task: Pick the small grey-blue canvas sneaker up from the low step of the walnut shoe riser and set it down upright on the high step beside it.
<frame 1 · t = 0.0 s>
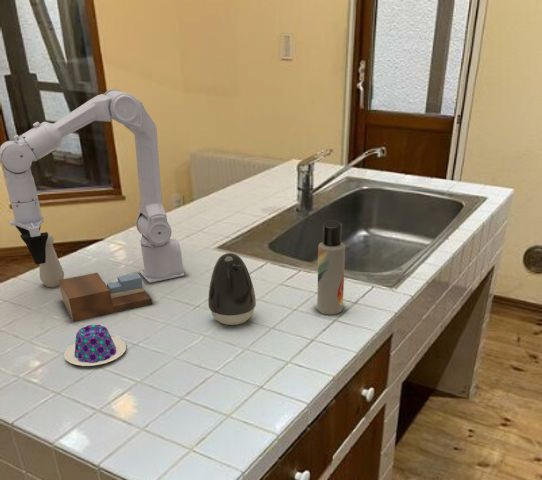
hand: (37, 258, 140), 10 cm above the table, tool pointing down, fingers open, 7 cm apart
dark egg shaped container: (233, 320, 133), on the table
sneaker: (125, 292, 143), point 2 cm above the table, touching shoe riser
patterned hat: (96, 354, 121), on the table
salt shaker: (54, 285, 152), on the table
shoe riser: (107, 302, 142), on the table
lotion bottle: (329, 310, 136), on the table
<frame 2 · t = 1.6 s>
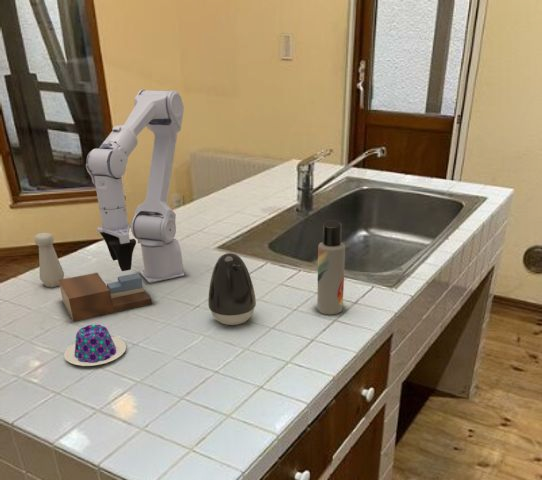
hand: (121, 264, 139), 9 cm above the table, tool pointing down, fingers open, 7 cm apart
nothing on the table moved.
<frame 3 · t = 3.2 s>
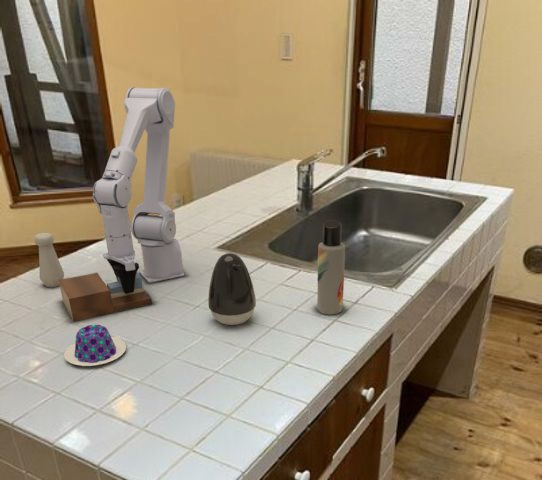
hand: (126, 289, 143), 2 cm above the table, tool pointing down, fingers closed on sneaker, 3 cm apart
sneaker: (125, 292, 143), point 2 cm above the table, touching gripper, shoe riser
everything else where it was.
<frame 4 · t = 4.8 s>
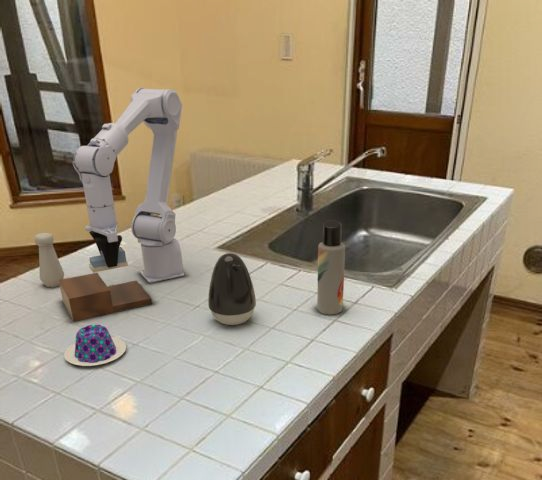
hand: (110, 263, 138), 9 cm above the table, tool pointing down, fingers closed on sneaker, 3 cm apart
sneaker: (108, 266, 138), point 9 cm above the table, touching gripper
everything else where it was.
when the fingers open (6 cm above the table, at t = 6.7 s): sneaker stays where it is, resting on shoe riser.
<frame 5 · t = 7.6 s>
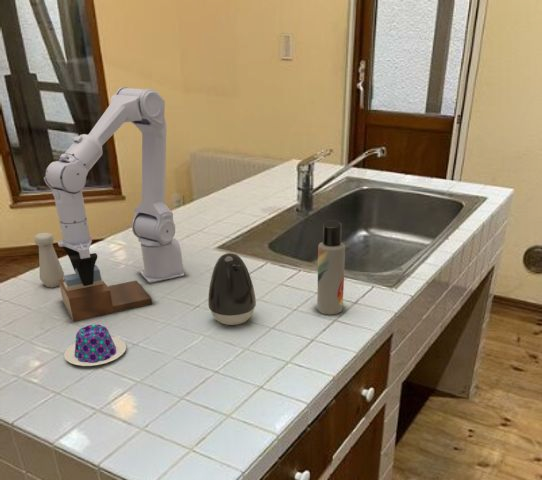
hand: (84, 278, 137), 7 cm above the table, tool pointing down, fingers open, 7 cm apart
sneaker: (83, 285, 137), point 5 cm above the table, touching shoe riser
everything else where it was.
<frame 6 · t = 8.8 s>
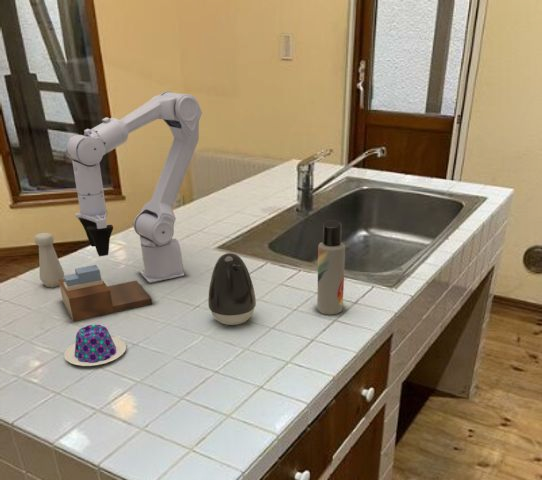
hand: (99, 250, 142), 10 cm above the table, tool pointing down, fingers open, 7 cm apart
nothing on the table moved.
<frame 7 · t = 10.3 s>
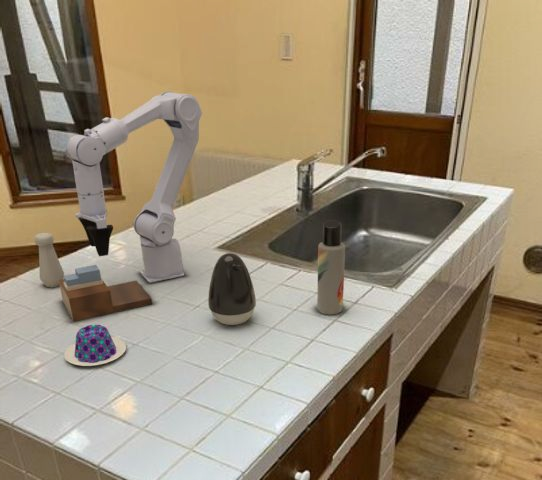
hand: (99, 250, 142), 10 cm above the table, tool pointing down, fingers open, 7 cm apart
nothing on the table moved.
at the end: sneaker inside the target area on the shoe riser (0.2 cm from its centre), point 5.5 cm above the shoe riser's base; sneaker tilted 0°; the gripper is holding nothing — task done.
